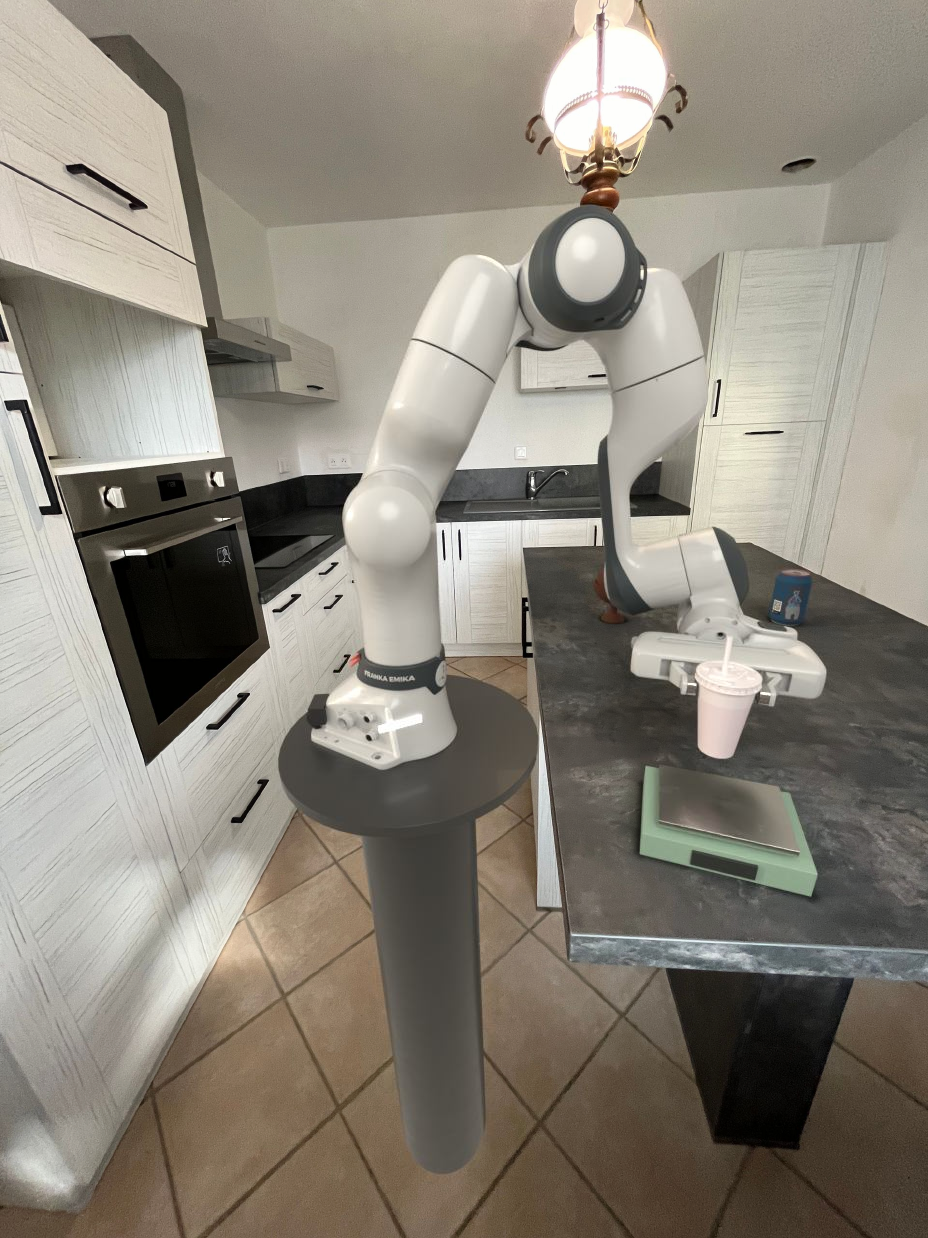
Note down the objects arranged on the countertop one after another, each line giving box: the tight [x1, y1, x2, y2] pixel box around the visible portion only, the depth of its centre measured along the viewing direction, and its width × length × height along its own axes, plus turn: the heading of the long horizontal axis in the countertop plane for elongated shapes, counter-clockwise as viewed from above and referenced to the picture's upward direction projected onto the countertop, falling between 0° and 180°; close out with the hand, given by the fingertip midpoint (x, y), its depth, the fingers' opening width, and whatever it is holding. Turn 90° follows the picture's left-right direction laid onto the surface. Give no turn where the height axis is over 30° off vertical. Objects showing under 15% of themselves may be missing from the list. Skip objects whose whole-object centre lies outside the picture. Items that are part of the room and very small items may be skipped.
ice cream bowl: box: [591, 568, 626, 624], centre depth 116 cm, size 11×11×15 cm
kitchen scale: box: [639, 765, 819, 898], centre depth 55 cm, size 16×12×3 cm
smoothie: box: [695, 635, 762, 760], centre depth 53 cm, size 6×6×14 cm
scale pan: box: [658, 763, 800, 858], centre depth 54 cm, size 13×10×1 cm
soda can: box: [768, 568, 813, 627], centre depth 112 cm, size 7×7×12 cm
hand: (727, 694), depth 52 cm, fingers closed on smoothie, 6 cm apart
